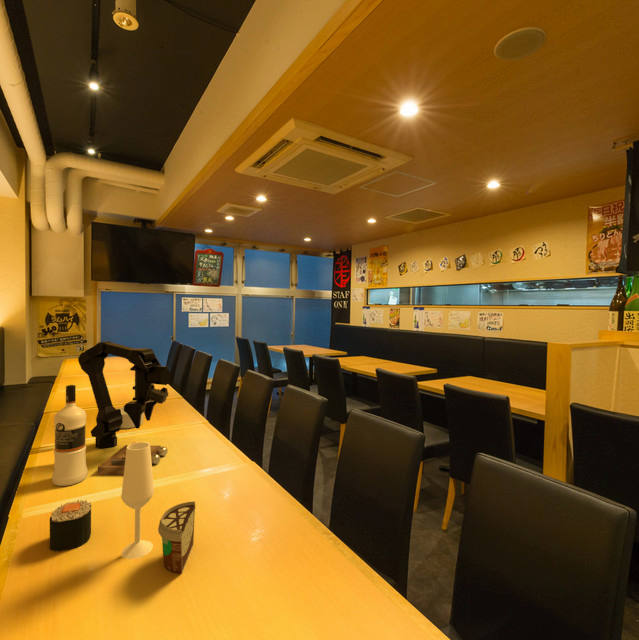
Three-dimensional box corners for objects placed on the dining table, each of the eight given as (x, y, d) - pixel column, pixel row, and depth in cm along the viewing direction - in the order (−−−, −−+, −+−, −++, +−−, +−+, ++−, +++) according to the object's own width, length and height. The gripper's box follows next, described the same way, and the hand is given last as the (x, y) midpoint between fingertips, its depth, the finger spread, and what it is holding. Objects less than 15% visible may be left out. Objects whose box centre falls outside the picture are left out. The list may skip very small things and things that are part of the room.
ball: (130, 454, 133) (127, 452, 130) (130, 444, 135) (127, 442, 132) (140, 451, 134) (138, 449, 131) (140, 442, 135) (137, 440, 133)
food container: (168, 542, 87) (168, 500, 87) (195, 541, 88) (195, 500, 88) (148, 580, 75) (149, 532, 75) (179, 579, 76) (180, 531, 75)
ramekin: (116, 431, 160) (116, 415, 160) (109, 423, 170) (109, 408, 170) (148, 425, 169) (148, 410, 169) (140, 418, 179) (140, 404, 179)
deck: (97, 474, 120) (97, 462, 120) (125, 451, 139) (125, 441, 139) (138, 475, 121) (138, 462, 121) (160, 452, 140) (160, 441, 139)
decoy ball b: (148, 466, 127) (148, 456, 127) (152, 461, 131) (152, 452, 131) (158, 466, 128) (158, 456, 128) (161, 462, 131) (162, 452, 131)
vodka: (94, 476, 119) (95, 383, 118) (67, 489, 110) (67, 389, 109) (72, 471, 122) (73, 381, 121) (44, 484, 113) (44, 386, 112)
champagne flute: (130, 539, 88) (131, 439, 87) (158, 541, 88) (160, 441, 87) (114, 558, 81) (115, 451, 80) (144, 560, 81) (145, 452, 80)
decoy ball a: (156, 457, 134) (156, 448, 134) (159, 454, 138) (159, 445, 138) (165, 457, 135) (165, 448, 134) (168, 454, 138) (169, 445, 138)
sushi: (45, 555, 82) (45, 519, 81) (55, 533, 89) (55, 501, 89) (88, 546, 85) (88, 512, 85) (94, 526, 93) (94, 495, 92)
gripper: (155, 388, 129) (155, 432, 129) (174, 378, 148) (173, 417, 148) (122, 388, 128) (122, 432, 129) (145, 378, 147) (145, 416, 147)
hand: (143, 424), depth 138 cm, fingers open, 9 cm apart
